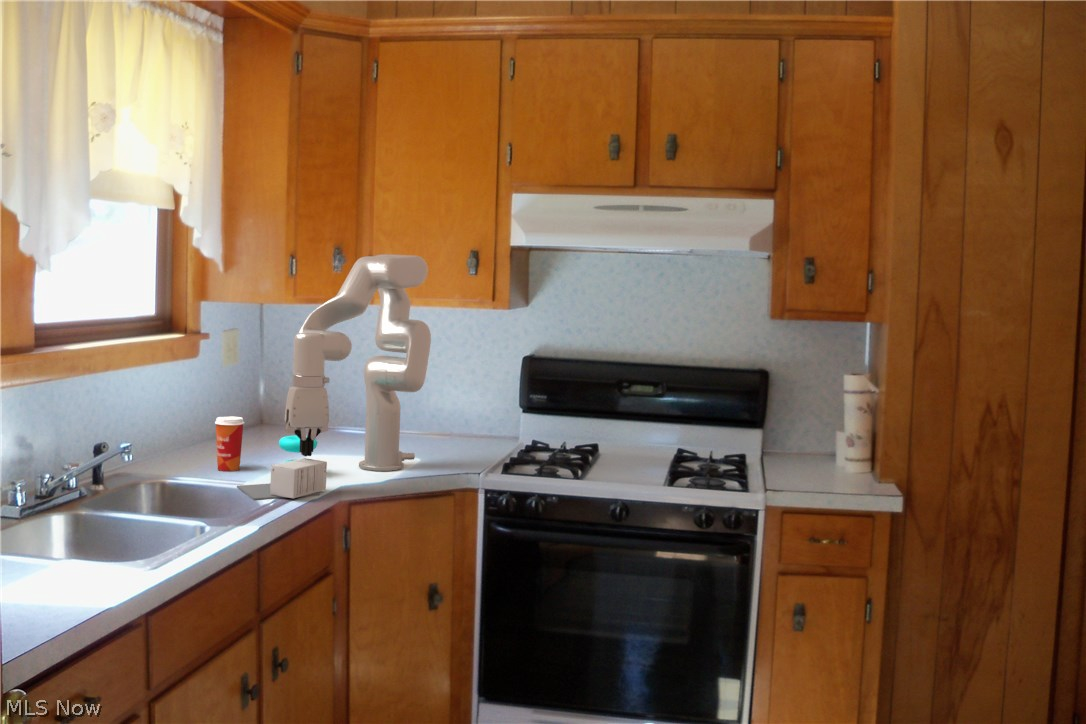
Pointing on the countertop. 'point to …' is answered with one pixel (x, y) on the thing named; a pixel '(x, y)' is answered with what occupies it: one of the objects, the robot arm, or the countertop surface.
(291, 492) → the supplement box
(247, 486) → the mat
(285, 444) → the donuts
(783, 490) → the countertop surface
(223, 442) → the paper cup
